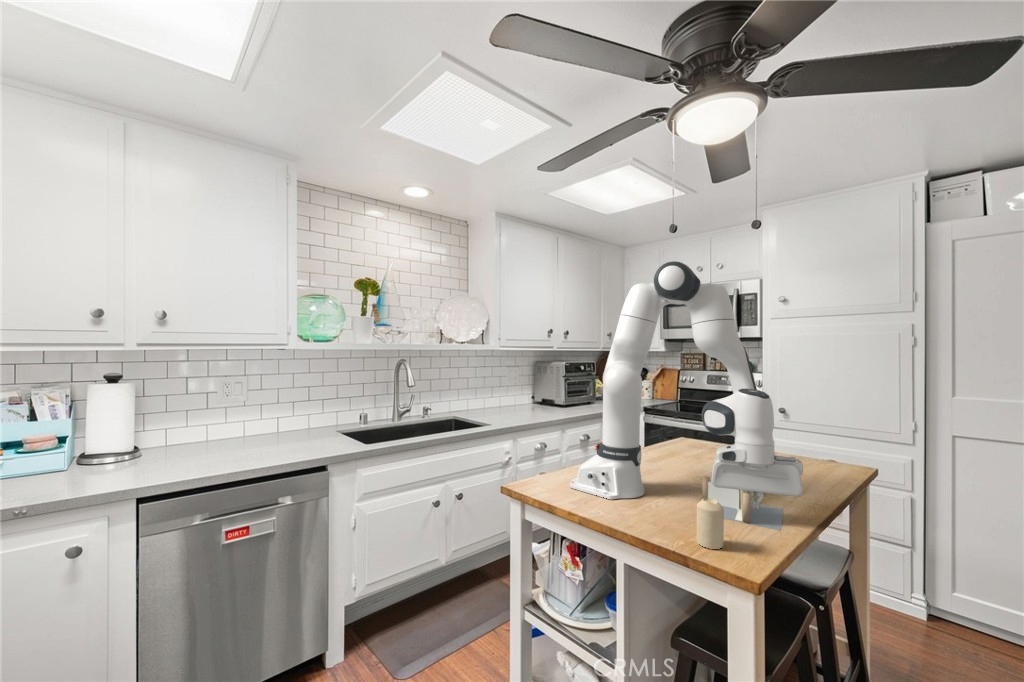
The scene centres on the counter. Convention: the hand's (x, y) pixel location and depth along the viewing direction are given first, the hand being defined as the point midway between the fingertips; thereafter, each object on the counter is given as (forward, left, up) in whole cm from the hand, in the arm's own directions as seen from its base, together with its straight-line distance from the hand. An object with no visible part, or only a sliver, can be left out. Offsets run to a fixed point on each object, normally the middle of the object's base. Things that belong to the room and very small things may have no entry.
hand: (755, 508), depth 111 cm
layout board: (-4, +6, -4) cm, 8 cm away
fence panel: (-2, +1, -3) cm, 4 cm away
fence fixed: (-8, +7, -3) cm, 11 cm away
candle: (-7, -20, -4) cm, 21 cm away
